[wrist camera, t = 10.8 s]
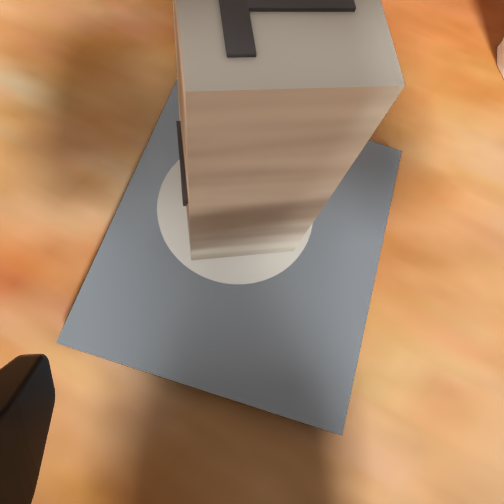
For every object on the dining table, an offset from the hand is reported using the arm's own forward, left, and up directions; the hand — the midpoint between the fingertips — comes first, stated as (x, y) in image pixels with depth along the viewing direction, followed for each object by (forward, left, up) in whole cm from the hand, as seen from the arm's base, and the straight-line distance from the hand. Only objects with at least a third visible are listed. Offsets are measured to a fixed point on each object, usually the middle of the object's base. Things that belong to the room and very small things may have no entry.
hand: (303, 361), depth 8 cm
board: (+6, +2, -11) cm, 13 cm away
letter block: (+7, +3, -10) cm, 13 cm away
